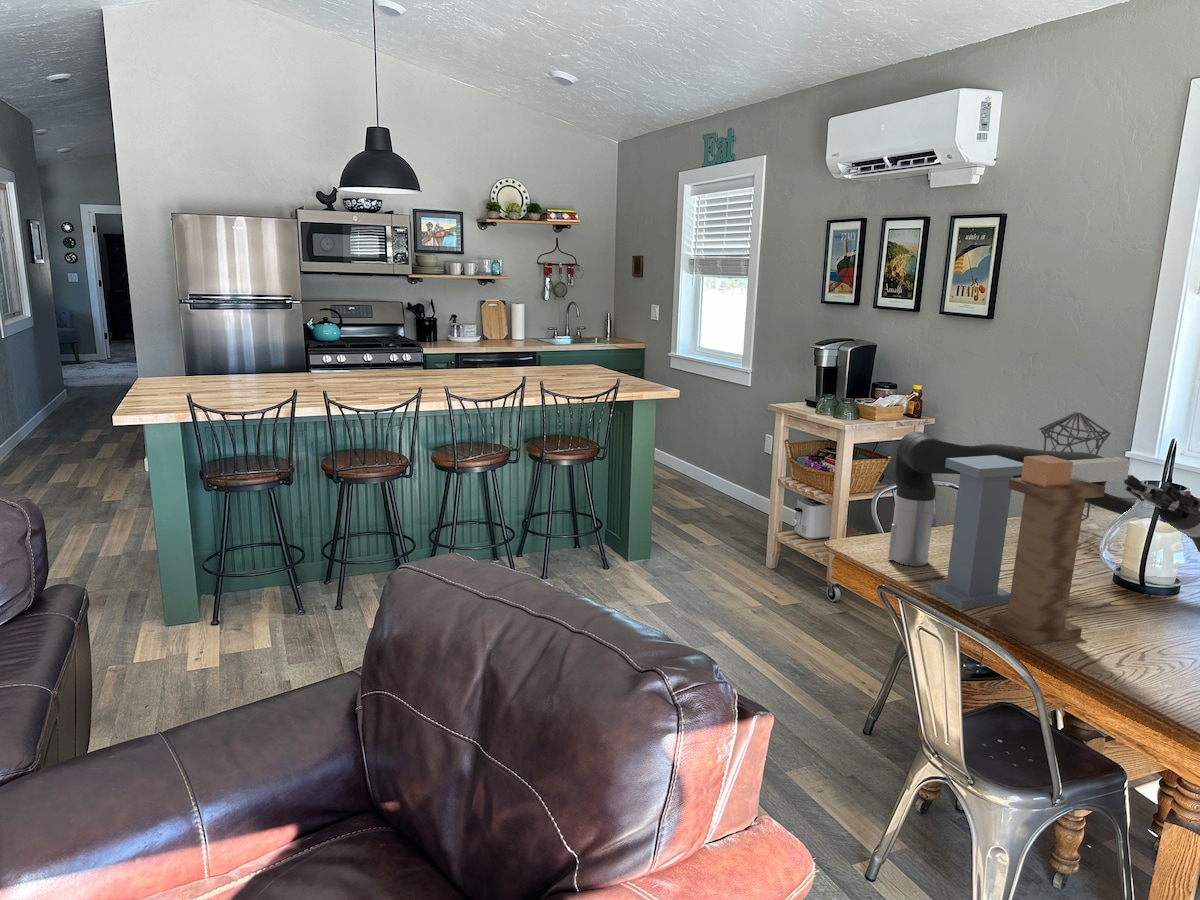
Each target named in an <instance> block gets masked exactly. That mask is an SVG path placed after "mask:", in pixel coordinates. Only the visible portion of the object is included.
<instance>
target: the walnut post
mask: <svg viewBox="0 0 1200 900" xmlns="http://www.w3.org/2000/svg"><path fill="white" fill-rule="evenodd" d="M1008 488H1009V489H1012V490H1011V491H1015V492H1019V493H1021V494H1023V495H1024V497H1023V504H1022V510H1021V511H1022V512H1021V516H1020V517H1021V518H1020V523H1019V525H1020V526H1019V531H1018V532H1019V533H1018V539H1017V545H1016V552H1015V561H1014V566H1013V574H1012V580H1011V581H1012V582H1011V588H1010V593H1011V594H1010V601H1009V603H1008V608H1007V613H1003V614H1002V613H1001V614H995V615H990V616H989V622H988V623H989V624H988V625H989V626H991V627H993V628H994V629H996V630H998V631H1000V632H1001V633H1003V634H1004V635H1007V636H1009V637H1010V638H1012V639H1014V640H1015V641H1018V642H1019V643H1020V644H1024V645H1025V646H1033V645H1040V644H1046V643H1051V642H1058V641H1065V640H1070V639H1071V640H1073V639H1077V638H1078V639H1079V638H1081V636H1082V630H1083V627H1081V626H1079V625H1077V624H1074V623H1072V622H1070V621H1068V620H1066V619H1067V612H1068V606H1069V601H1070V596H1071V595H1070V594H1071V587H1072V582H1073V578H1074V577H1073V575H1074V570H1075V563H1076V557H1077V550H1078V545H1079V538H1080V532H1081V525H1082V521H1081V520H1082V519H1083V515H1082V514H1084V510H1083V508H1084V509H1085V505H1084V502H1085V498H1096V497H1104V492H1105V491H1106V486H1100V485H1097V484H1093V483H1077V484H1070V485H1069V487H1059V488H1047V489H1045V488H1042V487H1039V486H1036V485H1033V484H1029V483H1026V482H1023V481H1021V478H1011V479H1009V484H1008ZM1105 493H1106V492H1105ZM1085 503H1086V502H1085Z"/></svg>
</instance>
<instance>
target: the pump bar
mask: <svg viewBox="0 0 1200 900" xmlns="http://www.w3.org/2000/svg"><path fill="white" fill-rule="evenodd" d="M1130 465H1131V460H1129V459H1125V458H1122V457H1117V456H1116V457H1115V456H1114V457H1104V458H1097V459H1083V460H1069V461H1068V460H1064V459H1060V458H1057V457H1053V456H1049V455H1041V456H1026V457H1024V462H1023V470H1022V477H1021V481H1023V482H1026V483H1029V484H1033V485H1036V486H1039V487H1042V488H1045V489H1047V488H1059V487H1069V485H1070V484H1077V483H1090V482H1102V481H1107V482H1112V481H1113V482H1115V481H1123V480H1124V481H1125V480H1127V477H1128V475H1129V471H1130Z"/></svg>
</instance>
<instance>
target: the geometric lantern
mask: <svg viewBox="0 0 1200 900" xmlns="http://www.w3.org/2000/svg"><path fill="white" fill-rule="evenodd" d="M1072 420H1073V421H1072ZM1071 421H1072V423H1071V426H1068V425H1069V424H1070V422H1071ZM1076 421H1077V422H1076ZM1080 421H1081V423H1082V425H1083V427H1084V428H1085V429H1080ZM1064 423H1065V424H1064ZM1075 423H1076V427H1074V425H1075ZM1093 425H1094V426H1095V427H1097V428H1099V429H1100V430H1097V429H1096V428H1095V427H1094V426H1093ZM1057 426H1059V427H1060V428H1061V429H1060V430H1059V431H1054V430H1055V428H1057ZM1068 429H1069V430H1068ZM1037 430H1038V431H1040V432H1041V434H1042V435H1043V438H1044V439H1043V450H1045V451H1047V450H1046V449H1047V447H1046V446H1047V439H1050V440H1051V441H1050V442H1051V443H1052V447H1053V448H1051V450H1050V451H1057V449H1056V448H1057V446H1064V448H1063V449H1062V450H1061V451H1064V452H1065V450H1066V449H1067V448H1069V450H1070V452H1074V450H1073V448H1072V447H1071V446H1074V445H1077V444H1081V443H1083V442H1084V443H1085V445H1086V448H1087V450H1088V453H1090V454H1093V451H1094V450H1095V449H1096V452H1095V455H1099V451H1100V449H1101V447H1102V445H1103V444H1104V443H1105V442H1106V440H1107V439H1108V438H1109V437H1110V435H1111V432H1110V431H1108V429H1105V428H1104V427H1102V426H1101V425H1100V424H1098V423H1096V422H1095V421H1093V420H1091V418H1089V417H1087V416H1086V415H1084V414H1083V413H1082V412H1079V411H1072V412H1071V413H1069V414H1068V415H1066V416H1064V417H1062V418H1060V419H1058V420H1055V421H1053V422H1051V423H1050V422H1049V423H1048V424H1046V425H1043V426H1041V427H1039V428H1037ZM1063 431H1065V432H1066V433H1068V434H1067V435H1066V434H1063V433H1062V432H1063ZM1073 431H1076V432H1077V433H1076V436H1075V434H1073V433H1072V432H1073ZM1080 432H1083V433H1087V435H1086V436H1079V434H1080ZM1091 433H1092V434H1093V436H1092V434H1091ZM1053 434H1056V438H1055V437H1054V436H1053ZM1103 435H1104V436H1103ZM1059 436H1061V437H1063V438H1067V442H1066V443H1060V442H1059ZM1070 439H1071V440H1070ZM1075 440H1076V441H1075ZM1077 440H1078V441H1077ZM1092 440H1093V441H1096V442H1095V447H1093V448H1092V449H1091V450H1090V447H1089V444H1088V442H1091V441H1092ZM1074 441H1075V442H1074ZM1100 441H1101V442H1100ZM1054 442H1055V443H1056V445H1055V444H1054ZM1085 504H1086V502H1084V506H1085ZM1084 509H1085V507H1084V508H1083V511H1084ZM1090 509H1091V504H1089V503H1087V509H1086V514H1084V513H1083V514H1082V520H1081V522H1083V521H1085V520H1087V519H1089V518H1090V517H1089V515H1090Z"/></svg>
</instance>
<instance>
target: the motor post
mask: <svg viewBox="0 0 1200 900" xmlns="http://www.w3.org/2000/svg"><path fill="white" fill-rule="evenodd" d="M945 467H946V468H949V469H952V470H955V471H958V472H960V474H959V482H958V489H957V496H956V503H955V504H956V505H955V513H954V521H953V529H952V537H951V545H950V554H949V562H948V569H947V576H946V577H947V578H946V582H945V581H944V582H939V583H931V584H930V592H929V593H931V594H932V595H934V596H936V597H938V598H940V599H941V600H943V601H945V602H947V603H949V604H951V605H952V606H954V607H956V608H958V609H959V610H967V609H969V610H970V609H975V608H983V607H989V606H997V605H1004V604H1009V601H1010V594H1011V592H1009V591H1006V590H1005V589H1003V588H1001V587H999V582H1000V576H1001V575H1000V574H1001V567H1002V561H1003V555H1004V547H1005V545H1004V544H1005V540H1006V539H1005V538H1006V531H1007V526H1008V517H1009V510H1010V504H1011V497H1012V491H1013V490H1012V489H1009V488H1008V484H1009V479H1011V478H1013V476H1014V475H1022V470H1023V463H1021V462H1018V461H1015V460H1011V459H1008V458H1004V457H1001V456H997V455H991V456H975V457H960V458H946V464H945Z"/></svg>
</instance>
